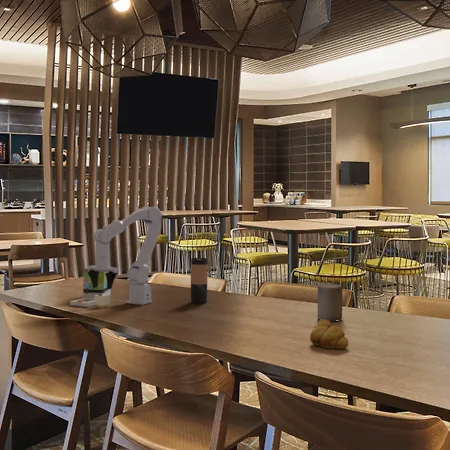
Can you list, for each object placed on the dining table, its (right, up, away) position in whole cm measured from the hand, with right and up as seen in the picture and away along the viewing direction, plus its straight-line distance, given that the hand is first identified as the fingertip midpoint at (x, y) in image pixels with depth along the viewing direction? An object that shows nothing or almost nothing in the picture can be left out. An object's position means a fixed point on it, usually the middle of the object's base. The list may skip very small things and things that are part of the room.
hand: (102, 288), depth 244 cm
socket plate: (-8, -8, +5) cm, 12 cm away
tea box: (-7, -7, +23) cm, 25 cm away
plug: (0, -8, 0) cm, 8 cm away
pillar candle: (+94, -10, -22) cm, 97 cm away
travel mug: (+41, -8, +13) cm, 44 cm away
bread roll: (+87, -12, -62) cm, 108 cm away
